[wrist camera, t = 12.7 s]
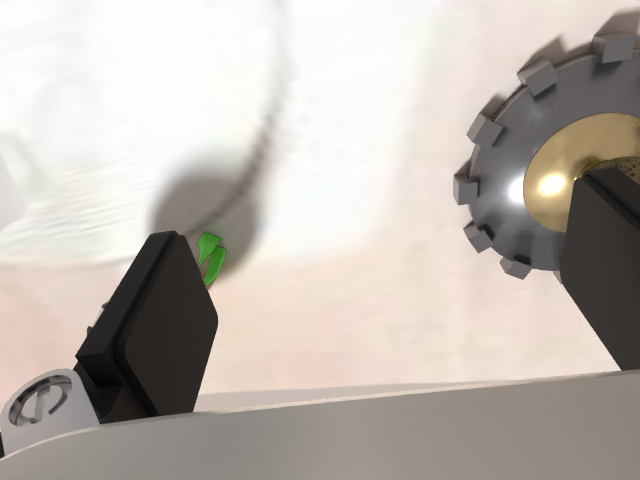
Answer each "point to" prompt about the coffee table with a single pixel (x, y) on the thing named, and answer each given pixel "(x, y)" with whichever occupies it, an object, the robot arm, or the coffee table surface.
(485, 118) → the gear
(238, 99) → the coffee table surface
